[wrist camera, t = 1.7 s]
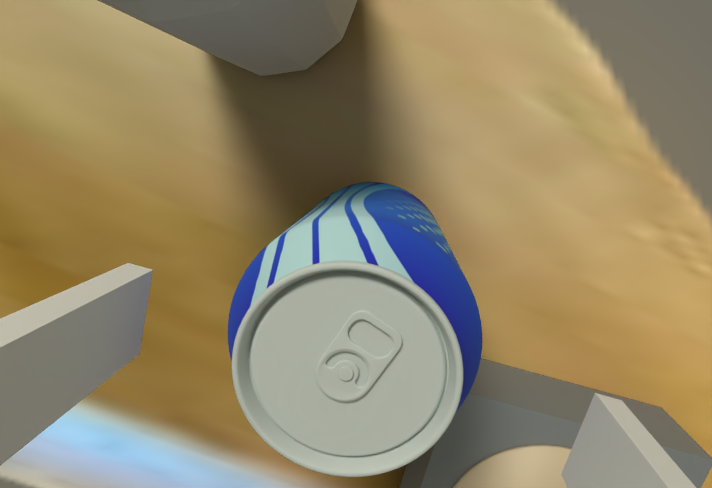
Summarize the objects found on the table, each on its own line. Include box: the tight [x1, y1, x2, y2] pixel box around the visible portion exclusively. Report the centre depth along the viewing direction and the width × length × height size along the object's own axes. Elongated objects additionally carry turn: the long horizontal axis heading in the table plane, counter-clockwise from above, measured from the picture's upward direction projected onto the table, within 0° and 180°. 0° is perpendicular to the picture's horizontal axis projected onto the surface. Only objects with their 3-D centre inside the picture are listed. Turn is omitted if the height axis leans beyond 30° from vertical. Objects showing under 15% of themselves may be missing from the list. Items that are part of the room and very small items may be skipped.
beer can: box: [228, 182, 482, 477], centre depth 21 cm, size 8×8×16 cm
